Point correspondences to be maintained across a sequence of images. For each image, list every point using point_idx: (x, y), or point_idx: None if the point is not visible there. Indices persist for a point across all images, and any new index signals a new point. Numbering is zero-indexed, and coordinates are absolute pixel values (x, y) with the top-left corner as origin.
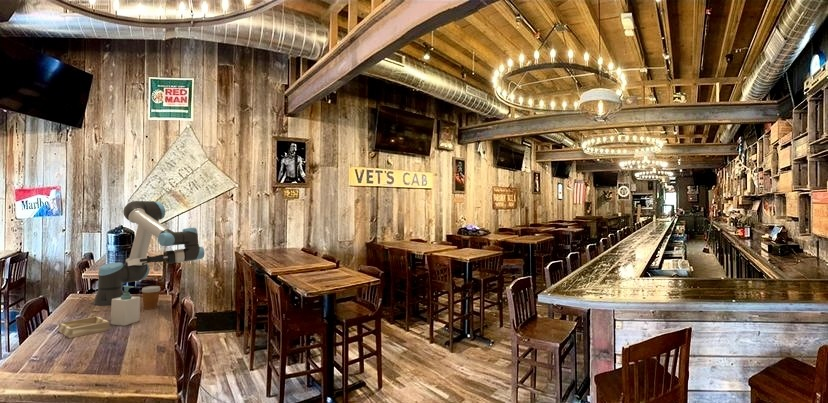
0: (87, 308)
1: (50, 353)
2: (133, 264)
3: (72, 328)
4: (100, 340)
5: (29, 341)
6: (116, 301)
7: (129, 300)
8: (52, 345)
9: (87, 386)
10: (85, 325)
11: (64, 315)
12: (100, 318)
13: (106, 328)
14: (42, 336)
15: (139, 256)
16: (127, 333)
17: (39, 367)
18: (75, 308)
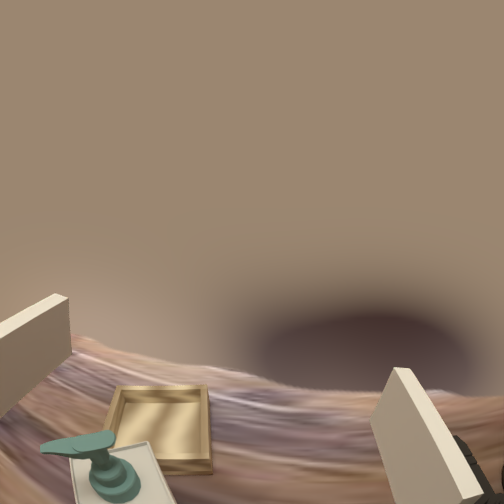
0: (472, 445)
1: (64, 365)
2: (387, 455)
3: (119, 389)
4: (45, 423)
5: (171, 363)
6: (121, 452)
7: (72, 475)
8: (104, 377)
9: None
10: (194, 441)
11: None
12: (164, 455)
13: None
14: (190, 379)
15: None
16: (32, 473)
17: None
18: (478, 419)
